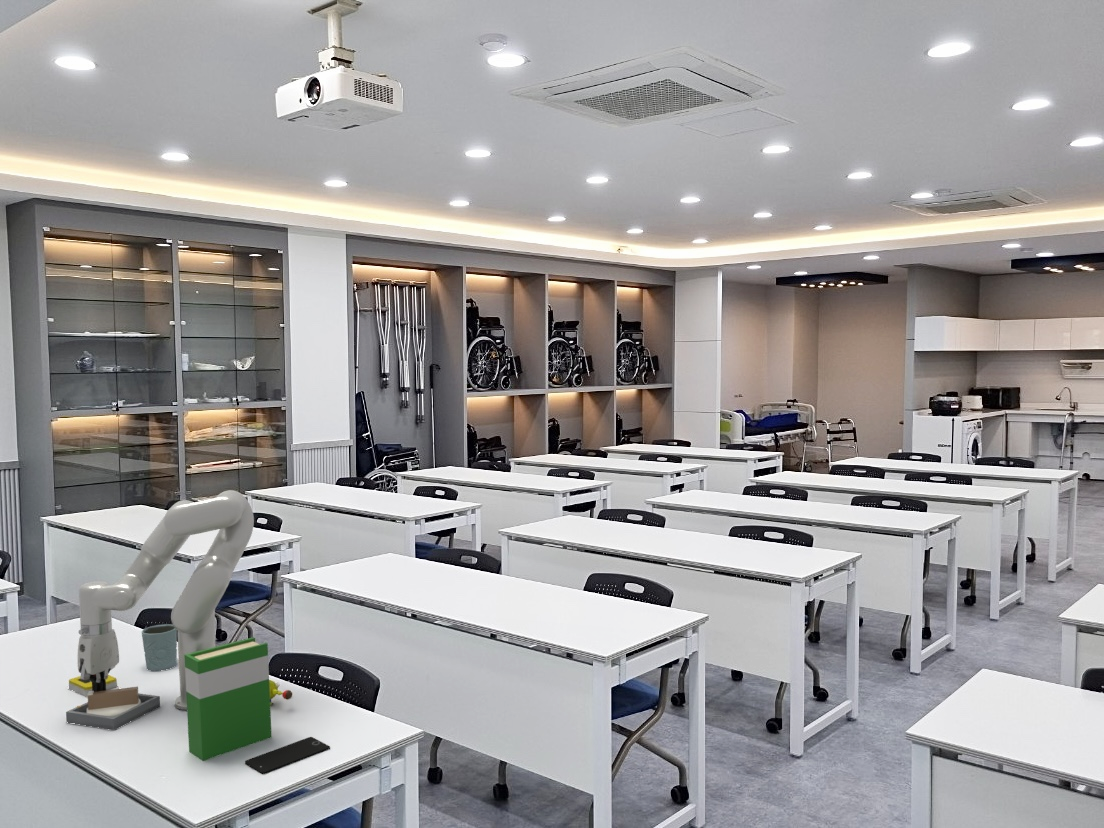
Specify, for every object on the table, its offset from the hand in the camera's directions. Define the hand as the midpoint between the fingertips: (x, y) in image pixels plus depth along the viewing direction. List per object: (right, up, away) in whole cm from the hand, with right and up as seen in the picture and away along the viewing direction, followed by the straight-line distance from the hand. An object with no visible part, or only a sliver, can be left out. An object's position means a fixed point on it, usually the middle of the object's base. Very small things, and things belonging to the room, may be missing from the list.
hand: (99, 694), depth 242 cm
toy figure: (+45, -4, +4) cm, 45 cm away
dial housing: (+5, -5, -1) cm, 7 cm away
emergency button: (-11, -5, +19) cm, 22 cm away
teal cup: (+1, -3, +36) cm, 36 cm away
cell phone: (+59, -6, -28) cm, 66 cm away
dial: (+5, -4, -1) cm, 6 cm away
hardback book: (+43, -6, -21) cm, 49 cm away
